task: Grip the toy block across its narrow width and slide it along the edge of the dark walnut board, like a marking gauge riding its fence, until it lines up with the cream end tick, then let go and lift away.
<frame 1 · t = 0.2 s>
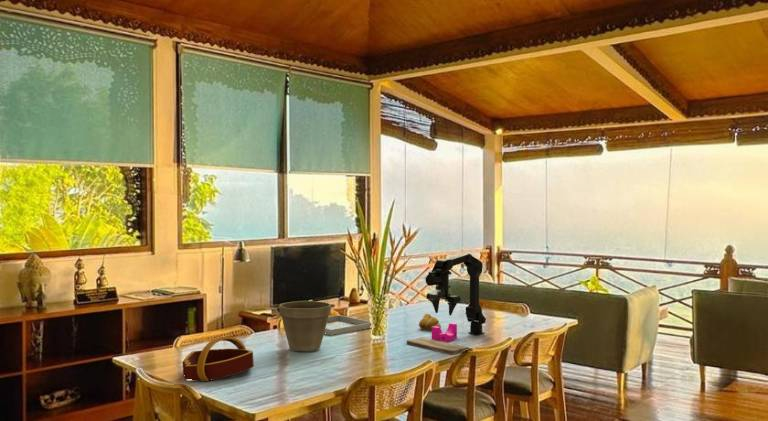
hand: (443, 314, 325), 14 cm above the table, tool pointing down, fingers open, 9 cm apart
toy block: (446, 340, 329), on the table
plant pot: (305, 349, 309), on the table
walnut board: (436, 346, 313), on the table
slate tray rim: (335, 327, 360), on the table
decorative basket: (222, 373, 267), on the table
bread roll: (429, 329, 355), on the table
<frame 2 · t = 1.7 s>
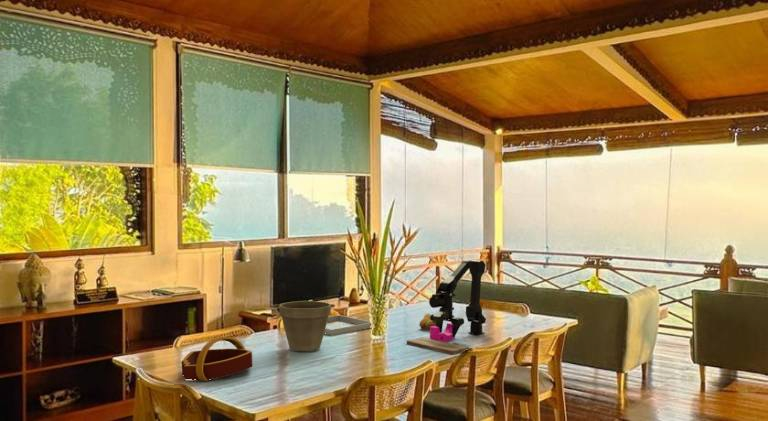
hand: (446, 335, 329), 2 cm above the table, tool pointing down, fingers open, 9 cm apart
toy block: (444, 340, 329), on the table, touching gripper
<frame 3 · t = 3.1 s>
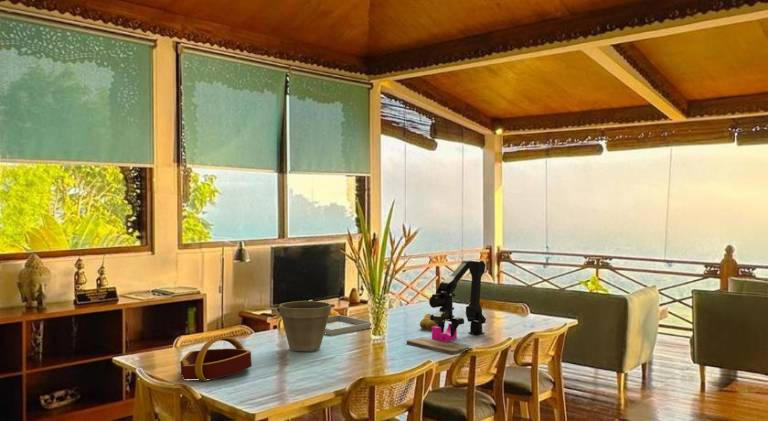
hand: (446, 335, 329), 2 cm above the table, tool pointing down, fingers closed on toy block, 6 cm apart
toy block: (446, 340, 328), on the table, touching gripper
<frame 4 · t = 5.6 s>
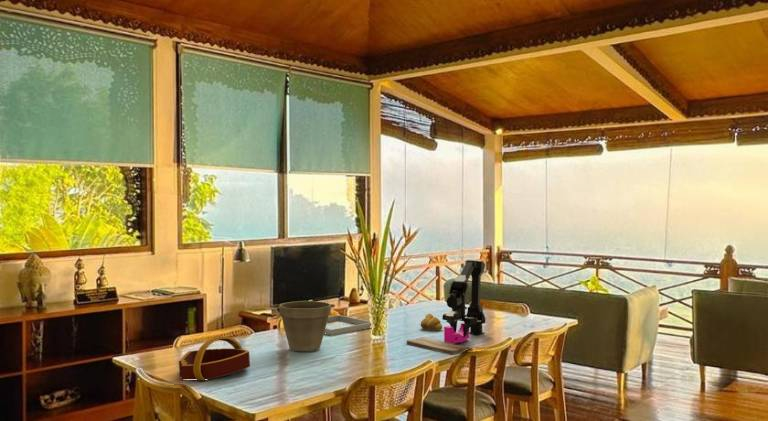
hand: (459, 335, 323), 3 cm above the table, tool pointing down, fingers closed on toy block, 6 cm apart
toy block: (458, 340, 322), point 1 cm above the table, touching gripper
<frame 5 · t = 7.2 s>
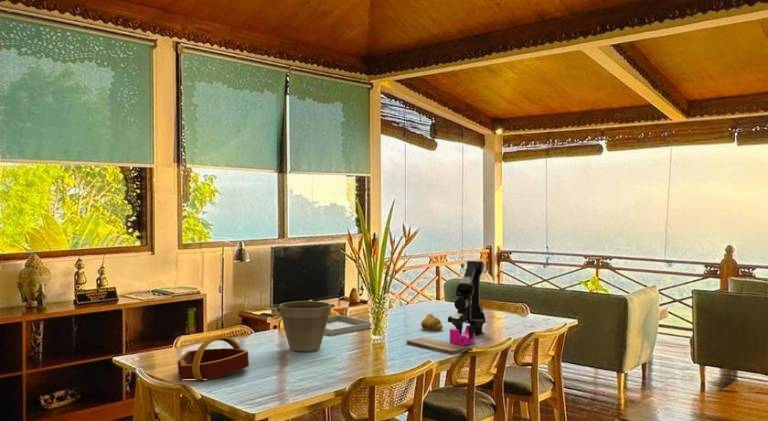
hand: (465, 338, 320), 3 cm above the table, tool pointing down, fingers closed on toy block, 6 cm apart
toy block: (464, 343, 320), on the table, touching gripper
when the fingers open (2 cm above the table, at t = 8.1 s): toy block stays where it is, on the table.
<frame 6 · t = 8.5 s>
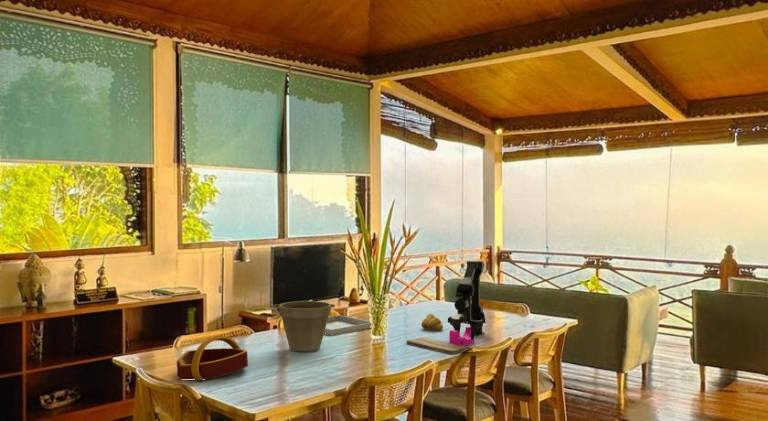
hand: (465, 338, 320), 2 cm above the table, tool pointing down, fingers open, 9 cm apart
toy block: (463, 344, 320), on the table
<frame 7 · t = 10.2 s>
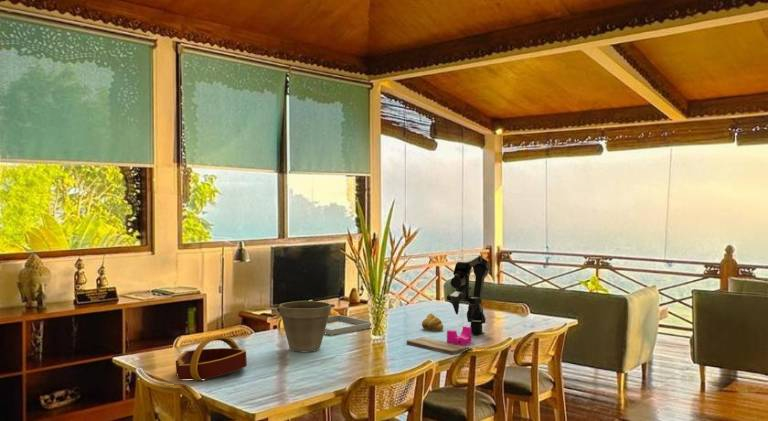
hand: (463, 315, 328), 13 cm above the table, tool pointing down, fingers open, 9 cm apart
toy block: (461, 344, 320), on the table
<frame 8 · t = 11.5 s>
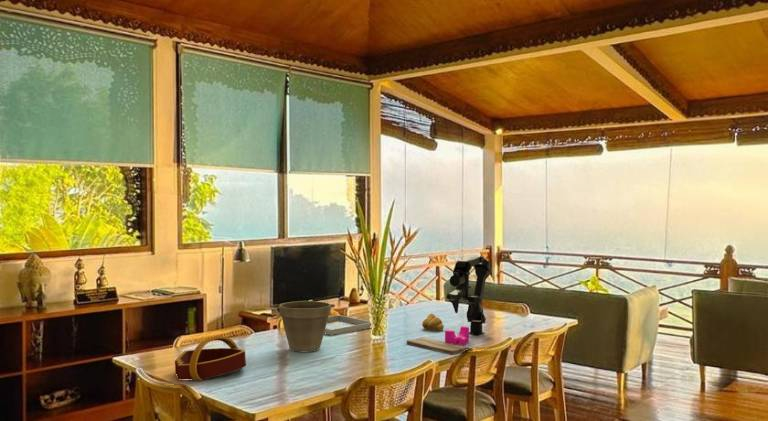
hand: (463, 314, 330), 13 cm above the table, tool pointing down, fingers open, 9 cm apart
toy block: (459, 344, 321), on the table
at the end: toy block 3.4 cm from the target spot, on the table; toy block tilted 0°; the gripper is holding nothing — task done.
